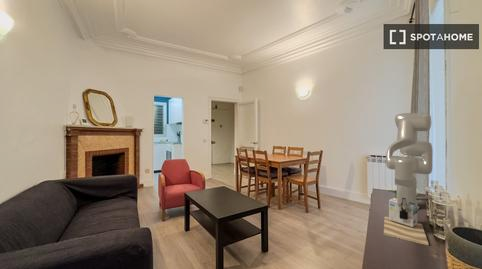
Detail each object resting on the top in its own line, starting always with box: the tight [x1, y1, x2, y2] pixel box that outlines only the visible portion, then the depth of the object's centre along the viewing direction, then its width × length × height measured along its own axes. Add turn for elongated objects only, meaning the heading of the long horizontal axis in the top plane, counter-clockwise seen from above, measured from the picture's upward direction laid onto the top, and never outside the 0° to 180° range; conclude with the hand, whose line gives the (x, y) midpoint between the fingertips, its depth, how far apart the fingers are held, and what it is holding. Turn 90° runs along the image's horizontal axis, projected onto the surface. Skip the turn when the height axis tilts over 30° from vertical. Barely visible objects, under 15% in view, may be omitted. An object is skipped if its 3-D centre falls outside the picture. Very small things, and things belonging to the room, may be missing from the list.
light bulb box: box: [388, 197, 418, 227], centre depth 109 cm, size 11×7×11 cm, turn 35°
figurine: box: [387, 189, 397, 198], centre depth 151 cm, size 3×12×8 cm, turn 56°
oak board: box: [383, 216, 429, 246], centre depth 104 cm, size 22×16×1 cm
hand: (402, 215), depth 109 cm, fingers closed on light bulb box, 8 cm apart
